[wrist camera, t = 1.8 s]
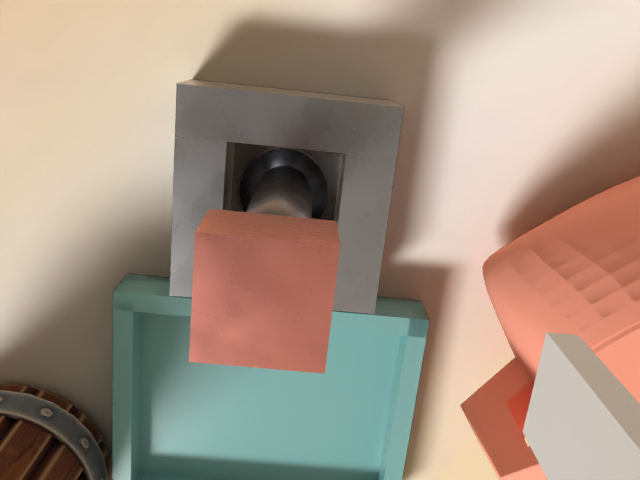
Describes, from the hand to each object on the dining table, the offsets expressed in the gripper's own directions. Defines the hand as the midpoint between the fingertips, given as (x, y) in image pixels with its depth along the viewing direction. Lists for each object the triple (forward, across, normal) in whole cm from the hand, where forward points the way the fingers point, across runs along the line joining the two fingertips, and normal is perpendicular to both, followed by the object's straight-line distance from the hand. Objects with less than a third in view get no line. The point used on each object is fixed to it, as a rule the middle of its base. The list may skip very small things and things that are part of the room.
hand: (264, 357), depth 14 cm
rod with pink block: (+18, 0, 0) cm, 18 cm away
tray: (+18, 0, -12) cm, 22 cm away
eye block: (+18, 0, 0) cm, 18 cm away
